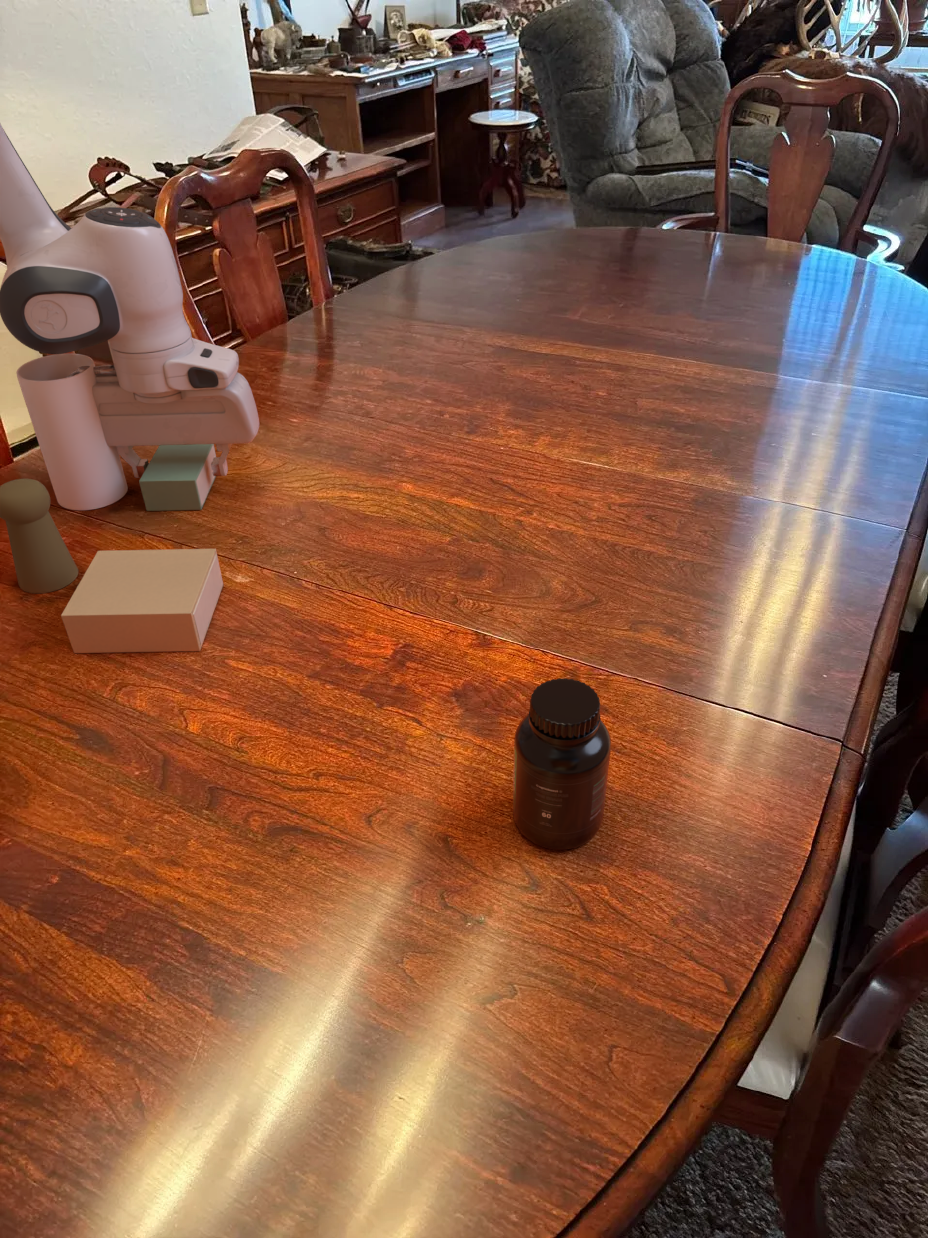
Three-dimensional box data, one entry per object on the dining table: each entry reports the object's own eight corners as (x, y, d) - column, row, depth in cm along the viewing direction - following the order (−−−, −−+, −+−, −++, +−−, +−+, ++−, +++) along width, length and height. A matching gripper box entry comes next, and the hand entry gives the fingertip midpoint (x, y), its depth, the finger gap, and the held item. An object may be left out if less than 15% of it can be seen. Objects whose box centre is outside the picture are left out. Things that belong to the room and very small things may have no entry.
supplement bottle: (495, 827, 70) (496, 710, 62) (540, 771, 74) (546, 656, 67) (575, 868, 66) (586, 749, 59) (618, 807, 71) (632, 690, 64)
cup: (72, 517, 107) (30, 387, 98) (47, 491, 113) (5, 365, 103) (138, 494, 112) (105, 367, 102) (111, 470, 117) (77, 347, 107)
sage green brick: (146, 511, 108) (138, 480, 106) (167, 470, 116) (160, 442, 114) (201, 510, 108) (195, 479, 106) (219, 469, 116) (213, 441, 114)
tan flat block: (73, 653, 87) (60, 615, 85) (108, 586, 96) (97, 550, 93) (201, 651, 87) (192, 613, 84) (224, 584, 96) (216, 548, 93)
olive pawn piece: (90, 570, 98) (61, 479, 92) (44, 599, 94) (10, 506, 88) (52, 555, 101) (21, 465, 94) (6, 583, 97) (-30, 491, 90)
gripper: (53, 377, 100) (87, 489, 109) (240, 373, 100) (260, 485, 108) (73, 355, 105) (104, 464, 114) (251, 351, 105) (269, 460, 114)
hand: (182, 474), depth 111 cm, fingers open, 8 cm apart
